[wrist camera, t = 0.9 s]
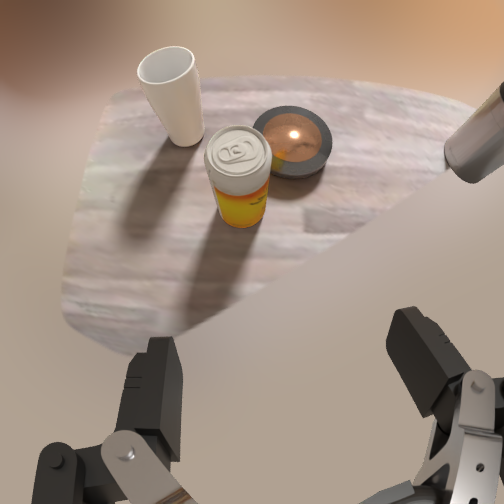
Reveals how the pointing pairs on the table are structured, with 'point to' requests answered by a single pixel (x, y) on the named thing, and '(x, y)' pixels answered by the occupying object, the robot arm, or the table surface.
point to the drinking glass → (174, 93)
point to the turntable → (295, 141)
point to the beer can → (239, 174)
